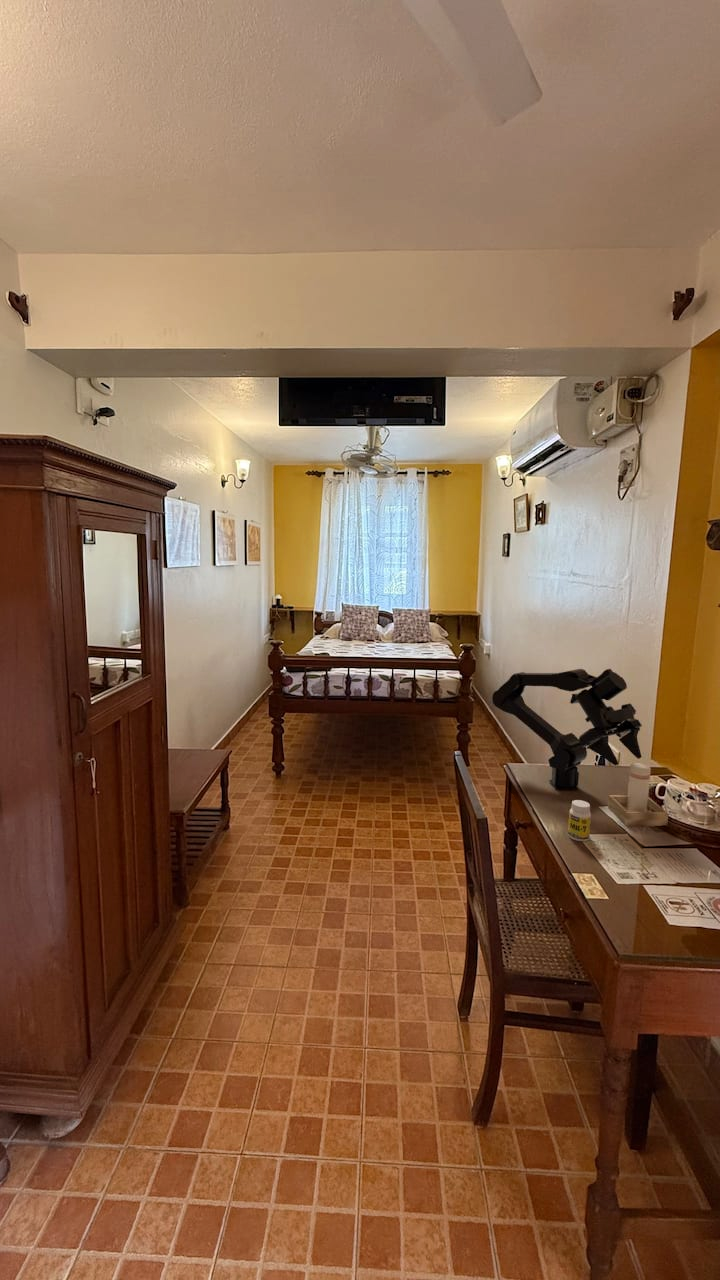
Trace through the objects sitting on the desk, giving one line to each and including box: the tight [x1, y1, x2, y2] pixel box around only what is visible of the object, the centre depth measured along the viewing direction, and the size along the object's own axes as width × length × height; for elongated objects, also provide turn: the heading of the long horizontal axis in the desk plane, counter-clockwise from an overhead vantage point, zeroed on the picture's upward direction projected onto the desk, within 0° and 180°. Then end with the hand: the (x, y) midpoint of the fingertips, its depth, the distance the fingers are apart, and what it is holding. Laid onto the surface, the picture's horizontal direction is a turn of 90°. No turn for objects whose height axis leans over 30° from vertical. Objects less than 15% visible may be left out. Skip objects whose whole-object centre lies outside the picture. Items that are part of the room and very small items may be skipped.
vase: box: [627, 763, 652, 812], centre depth 140 cm, size 5×5×13 cm
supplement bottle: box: [567, 799, 592, 842], centre depth 130 cm, size 5×5×8 cm
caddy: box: [607, 794, 669, 828], centre depth 141 cm, size 10×10×4 cm
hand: (628, 761), depth 142 cm, fingers open, 9 cm apart
